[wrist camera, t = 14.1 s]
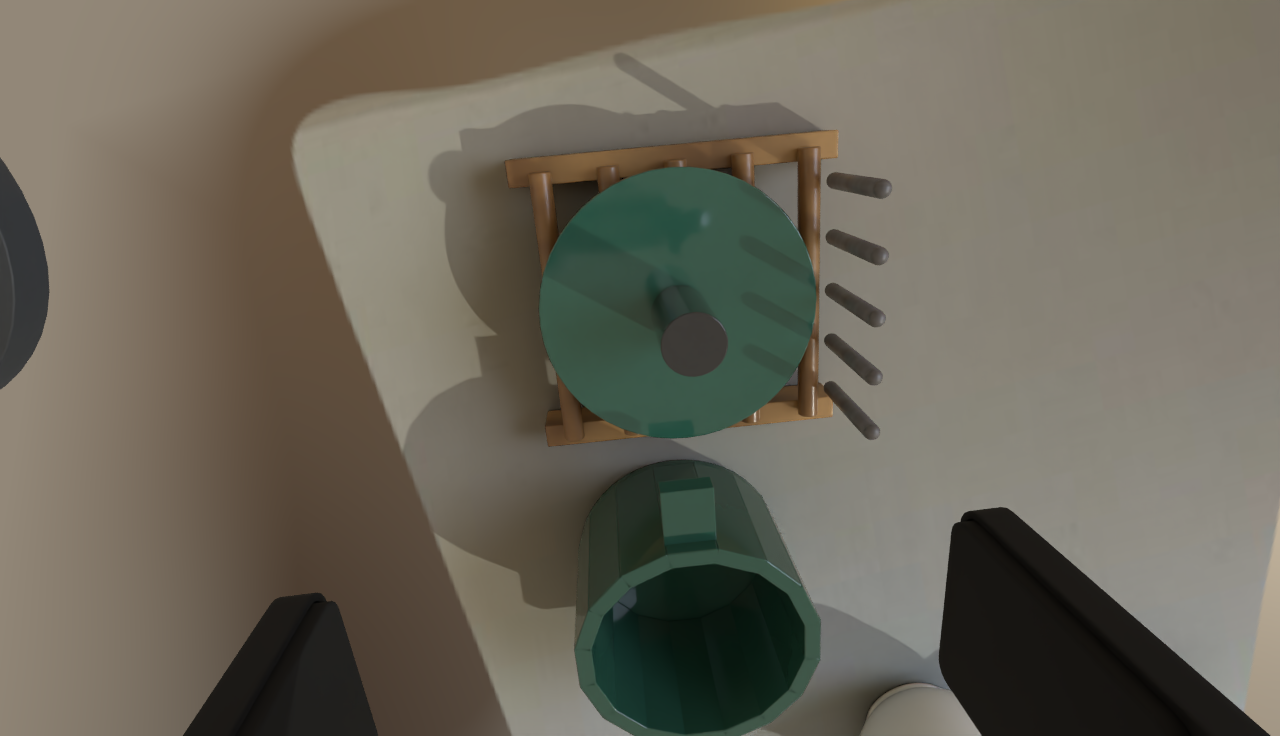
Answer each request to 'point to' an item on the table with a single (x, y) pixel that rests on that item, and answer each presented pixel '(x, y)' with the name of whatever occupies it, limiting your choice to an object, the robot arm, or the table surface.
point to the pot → (690, 606)
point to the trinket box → (918, 713)
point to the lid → (677, 302)
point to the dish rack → (742, 158)
